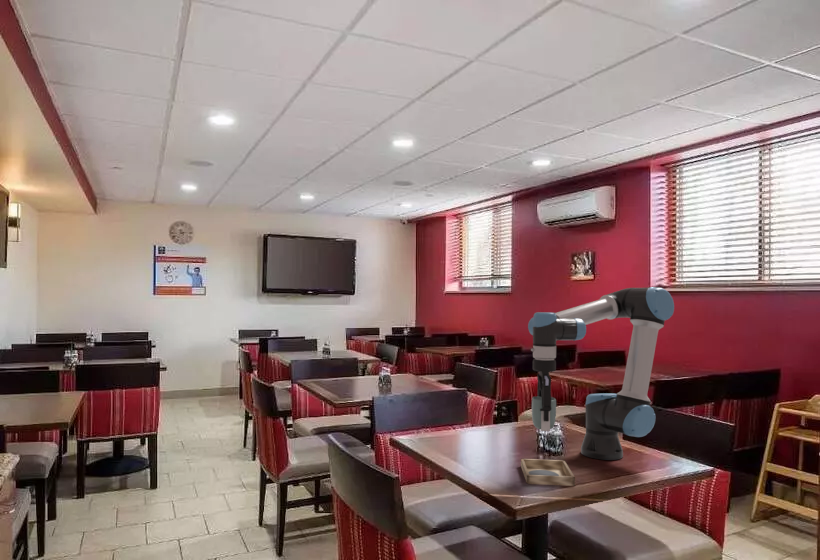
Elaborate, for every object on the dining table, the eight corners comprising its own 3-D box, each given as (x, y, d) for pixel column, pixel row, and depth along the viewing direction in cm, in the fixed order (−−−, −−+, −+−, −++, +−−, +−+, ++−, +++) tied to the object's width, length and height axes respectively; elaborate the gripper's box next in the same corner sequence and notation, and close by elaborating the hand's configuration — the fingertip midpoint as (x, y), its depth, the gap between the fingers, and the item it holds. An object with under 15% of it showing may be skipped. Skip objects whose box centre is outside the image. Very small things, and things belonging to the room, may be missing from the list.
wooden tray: (564, 469, 198) (564, 460, 198) (574, 487, 179) (575, 477, 179) (520, 467, 199) (520, 458, 199) (526, 485, 181) (526, 475, 181)
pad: (556, 471, 194) (556, 470, 194) (561, 480, 184) (561, 479, 184) (526, 470, 195) (526, 469, 195) (529, 479, 185) (529, 478, 185)
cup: (552, 426, 194) (552, 396, 194) (558, 431, 186) (558, 400, 186) (529, 425, 194) (529, 396, 194) (534, 431, 186) (535, 400, 186)
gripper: (529, 355, 201) (528, 420, 200) (536, 361, 181) (536, 434, 180) (551, 355, 200) (550, 421, 200) (561, 362, 180) (560, 435, 179)
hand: (543, 427), depth 190 cm, fingers closed on cup, 8 cm apart
